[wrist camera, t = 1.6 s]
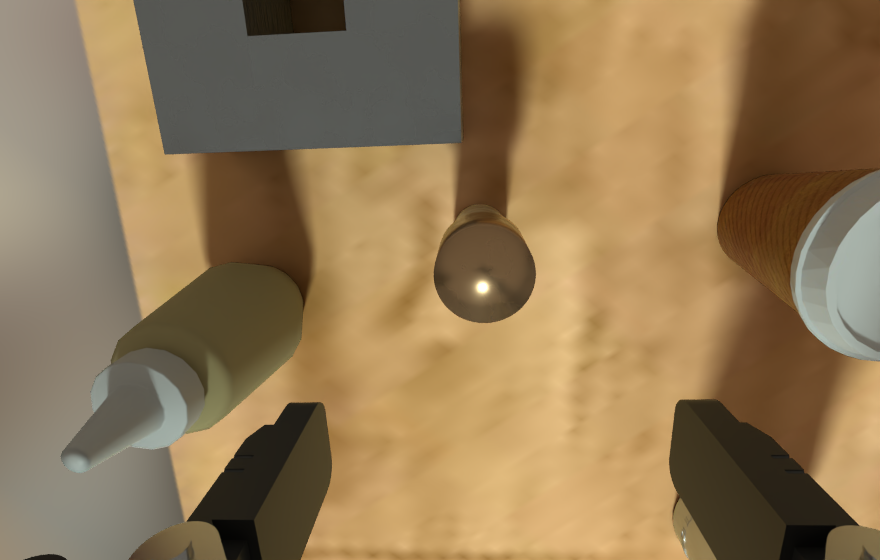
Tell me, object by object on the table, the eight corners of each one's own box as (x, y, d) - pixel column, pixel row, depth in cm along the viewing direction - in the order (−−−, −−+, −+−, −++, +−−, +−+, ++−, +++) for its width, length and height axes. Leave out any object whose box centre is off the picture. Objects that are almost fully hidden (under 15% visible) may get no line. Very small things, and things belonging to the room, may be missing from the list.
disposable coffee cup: (840, 130, 30) (1071, 129, 18) (845, 271, 32) (1050, 348, 21) (683, 170, 31) (807, 194, 20) (700, 304, 34) (819, 393, 22)
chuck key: (514, 194, 32) (536, 224, 22) (514, 262, 34) (534, 322, 23) (443, 196, 32) (431, 227, 22) (446, 264, 34) (435, 323, 23)
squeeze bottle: (202, 252, 35) (-61, 370, 18) (310, 245, 34) (147, 361, 17) (225, 353, 37) (14, 544, 20) (326, 348, 36) (198, 541, 19)
